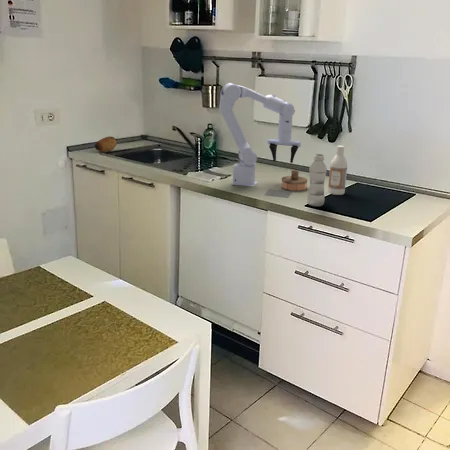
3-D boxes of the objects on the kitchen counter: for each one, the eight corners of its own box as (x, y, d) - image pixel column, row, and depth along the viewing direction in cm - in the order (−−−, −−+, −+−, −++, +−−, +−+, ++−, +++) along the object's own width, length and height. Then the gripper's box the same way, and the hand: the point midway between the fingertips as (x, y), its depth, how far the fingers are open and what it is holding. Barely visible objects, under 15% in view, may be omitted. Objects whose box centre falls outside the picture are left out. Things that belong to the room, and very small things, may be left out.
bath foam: (325, 193, 221) (329, 146, 214) (330, 190, 227) (335, 143, 220) (341, 196, 218) (346, 148, 211) (346, 192, 224) (351, 145, 217)
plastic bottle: (323, 209, 201) (328, 157, 194) (305, 207, 202) (309, 156, 195) (324, 204, 207) (328, 153, 200) (306, 202, 208) (310, 152, 201)
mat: (263, 196, 215) (263, 194, 215) (269, 190, 224) (270, 188, 224) (287, 198, 212) (287, 197, 212) (293, 192, 221) (293, 191, 221)
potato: (100, 159, 288) (90, 149, 289) (118, 150, 296) (109, 140, 298) (103, 149, 282) (93, 140, 284) (121, 140, 291) (111, 131, 292)
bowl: (280, 189, 225) (280, 182, 224) (285, 184, 234) (286, 176, 233) (303, 192, 222) (304, 184, 221) (307, 186, 231) (308, 179, 230)
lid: (278, 182, 223) (279, 172, 222) (285, 176, 233) (285, 167, 231) (304, 185, 219) (304, 175, 218) (309, 179, 229) (310, 169, 228)
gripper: (266, 130, 226) (264, 161, 231) (299, 133, 222) (297, 165, 226) (270, 128, 232) (268, 158, 237) (302, 131, 228) (300, 161, 233)
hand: (283, 161), depth 232 cm, fingers open, 7 cm apart
